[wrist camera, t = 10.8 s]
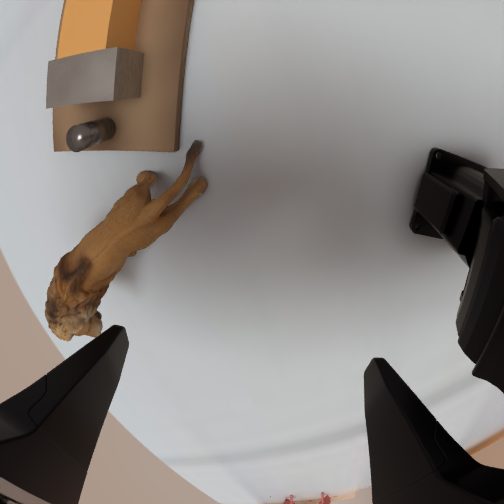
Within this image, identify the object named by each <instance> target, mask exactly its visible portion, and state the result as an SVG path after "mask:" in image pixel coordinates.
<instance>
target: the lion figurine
mask: <svg viewBox="0 0 504 504" xmlns="http://www.w3.org/2000/svg"><path fill="white" fill-rule="evenodd" d="M200 147H201V143H200V141H198V140H195V141H194V142H193V144H192V146H191V148H190V149H189V151H188V152H187V154H186V163H185V166H184V169H183V171H182V173H181V175H180V176H179V178H178V179H177V180H176V182H175V183H174V184H173V185H172V186H171V187H170V188H169V189H168V190H167V191H166V192H164V193H163V194H162V195H161V196H160V197H158V198H157V199H153V200H151V194H150V188H151V187H153V186H154V185H155V184H156V182H157V176H155V175H153V174H152V173H151V172H149V171H143V172H141V173H139V174H138V176H137V179H136V181H137V183H138V184H137V185H135V186H133V187H132V188H130V189H129V190H127V192H126V193H125V194H124V196H123V197H121V198H120V199H119V200H118V201H117V202H116V203H115V204H114V206H113V208H112V210H111V211H110V213H109V214H108V215H107V217H106V219H105V220H104V221H102V222H101V223H100V224H99V225H97V226H96V227H95V228H94V229H92V230H91V231H90V232H89V233H87V234H86V235H85V237H84V238H83V239H82V240H81V242H80V243H79V244H78V245H77V246H76V247H75V248H74V249H73V250H72V251H71V252H69V253H67V254H65V255H64V256H63V257H62V258H61V259H60V261H59V263H58V265H57V266H56V267H55V269H54V277H53V279H52V281H51V282H50V286H49V287H48V290H47V302H46V303H45V306H46V309H45V316H46V319H47V321H48V323H49V328H50V329H51V330H52V332H53V333H54V334H55V335H56V336H57V337H58V338H59V339H63V340H66V341H70V340H71V339H72V337H73V336H74V335H76V336H81V335H88V336H92V337H97V336H99V335H100V334H101V330H102V327H103V325H102V321H101V317H102V315H101V313H100V312H98V311H97V308H98V306H99V305H100V303H101V298H102V297H103V296H104V294H105V293H106V291H107V289H108V287H109V284H110V282H111V281H112V280H113V279H114V277H115V275H116V274H117V273H118V272H119V271H120V270H121V268H122V267H123V265H124V263H125V260H126V258H127V257H131V256H134V255H135V254H136V251H137V250H140V249H144V248H146V247H148V246H149V245H150V244H152V243H153V242H154V241H155V240H156V239H157V238H158V237H159V236H161V235H162V234H164V233H166V232H167V231H168V230H169V229H170V228H171V227H172V225H173V224H174V222H175V221H176V220H177V219H178V218H179V217H180V215H181V214H182V213H183V212H184V210H185V209H186V208H187V207H188V206H189V205H190V204H191V203H192V202H193V201H194V200H195V199H197V198H198V197H199V196H200V194H202V193H203V192H204V190H205V189H206V187H207V183H206V181H205V180H204V179H203V178H202V177H196V178H194V179H193V180H191V181H190V183H189V185H188V187H189V188H188V189H187V190H186V191H185V193H184V194H183V195H182V196H181V197H180V199H179V200H178V201H176V202H175V203H173V204H171V205H169V204H170V202H171V201H172V200H173V199H174V198H175V197H176V196H177V195H178V193H179V192H180V191H181V190H182V188H183V187H184V186H185V184H186V183H187V181H188V179H189V177H190V174H191V171H192V168H193V164H194V160H195V158H196V157H197V155H198V154H199V153H200ZM168 205H169V206H168Z"/></svg>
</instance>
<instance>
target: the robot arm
mask: <svg viewBox="0 0 504 504" xmlns="http://www.w3.org/2000/svg"><path fill="white" fill-rule="evenodd" d="M437 153H439V156H438V158H436V154H437ZM417 224H418V227H417V228H415V226H416V225H417ZM410 229H411V230H412V231H413V233H415V234H420V235H425V236H430V237H435V238H440V239H444V240H445V241H446V242H447V243H448V244H449V245H450V246H451V247H452V248H453V250H454V251H455V252H456V253H457V254H458V255H459V256H460V258H461V259H462V260H463V261H464V262H465V263H466V265H467V266H468V267H469V272H468V276H467V280H466V283H465V287H464V290H463V291H462V293H461V296H460V302H461V303H460V306H459V309H458V313H457V319H456V326H457V331H458V336H459V339H458V344H459V345H460V347H461V349H462V350H463V352H464V353H465V354H466V355H467V356H468V357H469V359H470V360H471V361H472V362H474V363H475V364H476V365H475V367H474V369H473V371H472V375H473V376H475V377H478V378H481V379H483V380H486V381H488V382H490V383H491V384H493V385H494V386H496V387H497V388H499V389H500V390H501V391H502V392H503V393H504V169H488V168H486V167H484V166H481V165H479V164H477V163H474V162H472V161H470V160H467V159H465V158H462V157H460V156H457V155H455V154H452V153H450V152H447V151H444V150H442V149H439V148H433V149H432V150H431V153H430V157H429V161H428V165H427V169H426V172H425V174H424V175H423V179H422V182H421V186H420V189H419V193H418V196H417V200H416V203H415V210H414V213H413V216H412V219H411V222H410ZM128 347H129V341H128V337H127V333H126V329H125V328H124V327H123V326H119V325H113V326H111V327H110V328H109V329H107V330H106V331H104V332H103V333H102V334H100V335H99V336H97V337H96V338H95V339H93V340H92V341H91V342H89V343H88V344H86V345H85V346H84V347H82V348H81V349H80V350H78V351H77V352H75V353H74V354H73V355H71V356H70V357H69V358H67V359H66V360H65V361H63V362H62V363H61V364H59V365H58V366H56V367H55V368H54V369H52V370H51V371H50V372H49V373H47V375H44V376H43V377H42V378H40V379H39V380H37V381H36V382H35V383H33V384H32V385H30V386H29V387H27V388H26V389H24V390H23V391H21V392H19V393H18V394H16V395H14V396H13V397H11V398H9V399H7V400H6V401H4V402H2V403H1V404H0V504H78V502H79V499H80V495H81V492H82V488H83V485H84V481H85V478H86V475H87V470H88V468H89V465H90V461H91V458H92V455H93V452H94V449H95V446H96V443H97V440H98V437H99V434H100V431H101V429H102V426H103V423H104V420H105V418H106V415H107V412H108V409H109V407H110V404H111V401H112V399H113V396H114V394H115V391H116V388H117V386H118V383H119V380H120V376H121V372H122V369H123V365H124V361H125V358H126V354H127V351H128ZM364 401H365V418H366V427H367V436H368V445H369V456H370V468H371V483H372V502H373V504H504V469H499V468H495V467H489V466H485V465H482V464H480V463H478V462H477V461H475V460H474V459H473V458H472V457H471V456H470V455H469V454H468V453H467V452H466V451H465V450H464V449H463V448H462V447H461V446H460V445H459V444H458V443H457V442H456V441H455V440H454V439H453V438H452V437H451V436H450V435H449V434H448V432H447V431H446V430H445V429H444V428H443V427H442V426H441V424H440V423H439V422H438V421H436V418H435V417H434V416H433V415H432V414H431V412H430V411H429V410H428V409H427V408H426V406H425V405H424V404H423V403H422V402H421V401H420V399H419V398H418V397H417V396H416V395H415V393H414V392H413V391H412V390H411V389H410V388H409V386H408V385H407V384H406V383H405V382H404V381H403V380H402V378H401V377H400V376H399V375H398V374H397V373H396V371H395V370H394V369H393V368H392V367H391V366H390V365H389V363H388V362H387V361H386V360H385V359H384V358H373V359H372V360H371V362H370V363H369V365H368V367H367V368H366V370H365V372H364Z"/></svg>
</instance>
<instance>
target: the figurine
mask: <svg viewBox="0 0 504 504" xmlns="http://www.w3.org/2000/svg"><path fill="white" fill-rule="evenodd" d="M270 497H271V496H270ZM335 497H336V496H335ZM331 498H332V497H331ZM319 500H321V501H320V503H319V504H330V498H329V496H328V495H327V496H326V497H324V496H323V493H322V499H319ZM310 501H314V500H310ZM294 502H299V501H292V495H290V500H289V499H287V500H285V502H284V503H283V504H295V503H294Z"/></svg>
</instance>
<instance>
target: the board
mask: <svg viewBox="0 0 504 504" xmlns="http://www.w3.org/2000/svg"><path fill="white" fill-rule="evenodd" d="M193 3H194V0H142V1H141V6H140V12H139V18H138V25H137V32H136V39H135V48H134V51H138V52H142V53H144V62H143V73H142V85H141V98H131V99H122V100H113V101H101V102H90V103H81V104H73V105H66V106H59V107H53V141H54V152H57V151H73V152H80V151H88V150H123V151H156V152H175V151H177V150H179V135H180V119H181V105H182V92H183V81H184V71H185V62H186V53H187V45H188V37H189V29H190V22H191V16H192V9H193ZM65 5H66V0H64V5H63V9H62V15H61V20H60V26H59V33H58V40H57V48H56V57H55V60H56V59H57V57H58V48H59V40H60V33H61V26H62V20H63V15H64V10H65Z"/></svg>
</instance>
